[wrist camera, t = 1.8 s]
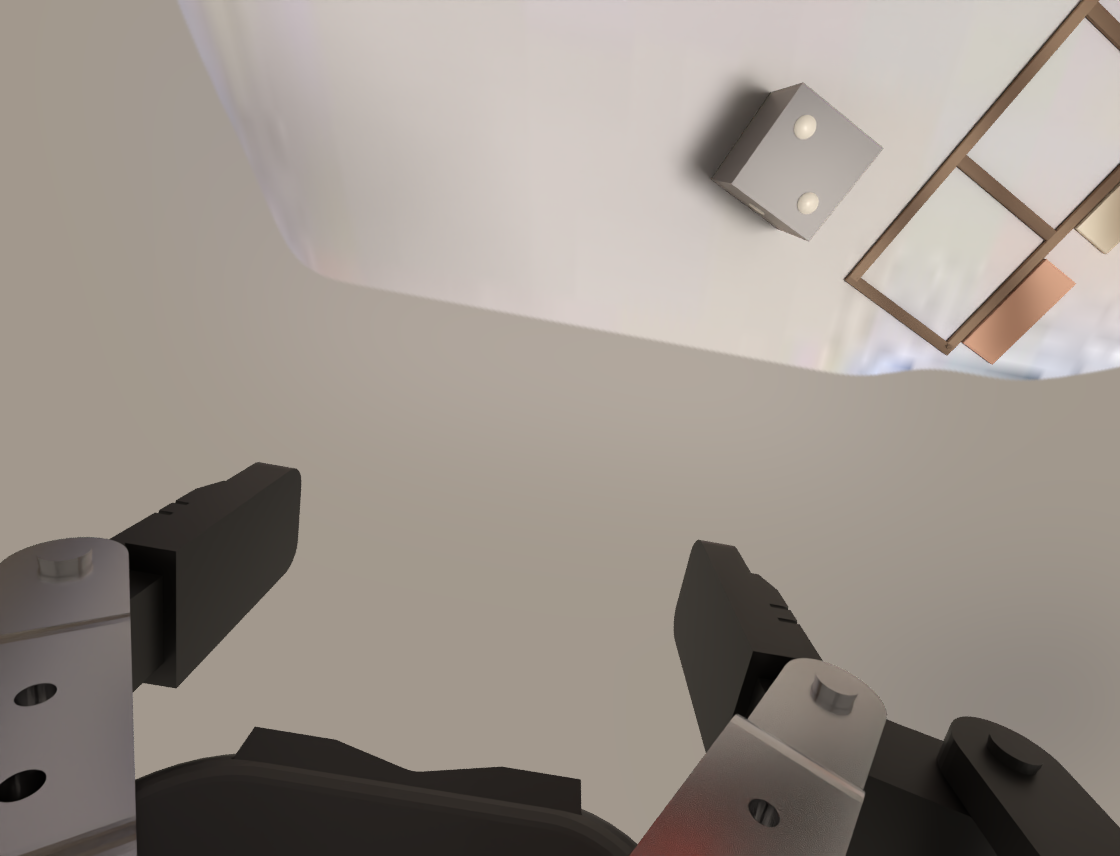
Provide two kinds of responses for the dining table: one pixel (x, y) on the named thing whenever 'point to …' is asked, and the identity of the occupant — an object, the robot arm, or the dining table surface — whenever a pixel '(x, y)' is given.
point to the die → (796, 161)
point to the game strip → (1046, 283)
